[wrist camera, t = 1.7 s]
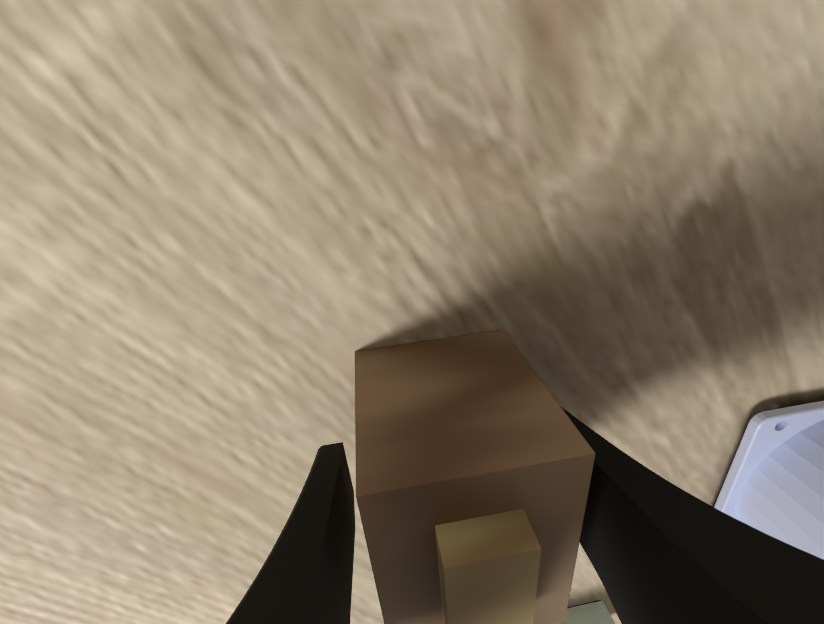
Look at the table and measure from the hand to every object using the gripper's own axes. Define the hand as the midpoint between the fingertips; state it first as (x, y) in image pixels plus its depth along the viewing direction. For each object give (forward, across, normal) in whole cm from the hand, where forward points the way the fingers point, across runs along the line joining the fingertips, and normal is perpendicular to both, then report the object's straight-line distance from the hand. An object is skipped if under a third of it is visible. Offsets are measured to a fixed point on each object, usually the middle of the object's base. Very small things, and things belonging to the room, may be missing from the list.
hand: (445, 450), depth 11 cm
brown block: (+2, 0, 0) cm, 2 cm away
